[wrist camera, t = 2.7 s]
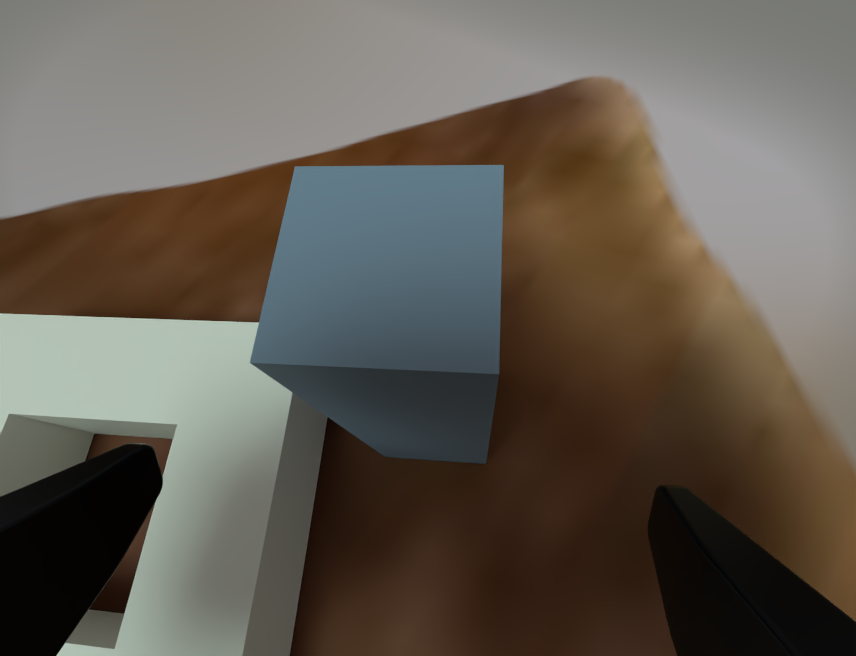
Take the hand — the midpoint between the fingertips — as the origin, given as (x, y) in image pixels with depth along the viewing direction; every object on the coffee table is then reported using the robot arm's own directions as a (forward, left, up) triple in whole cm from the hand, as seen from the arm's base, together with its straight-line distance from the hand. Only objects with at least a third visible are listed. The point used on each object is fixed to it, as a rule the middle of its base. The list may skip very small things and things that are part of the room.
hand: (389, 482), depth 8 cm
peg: (+3, -2, -10) cm, 11 cm away
